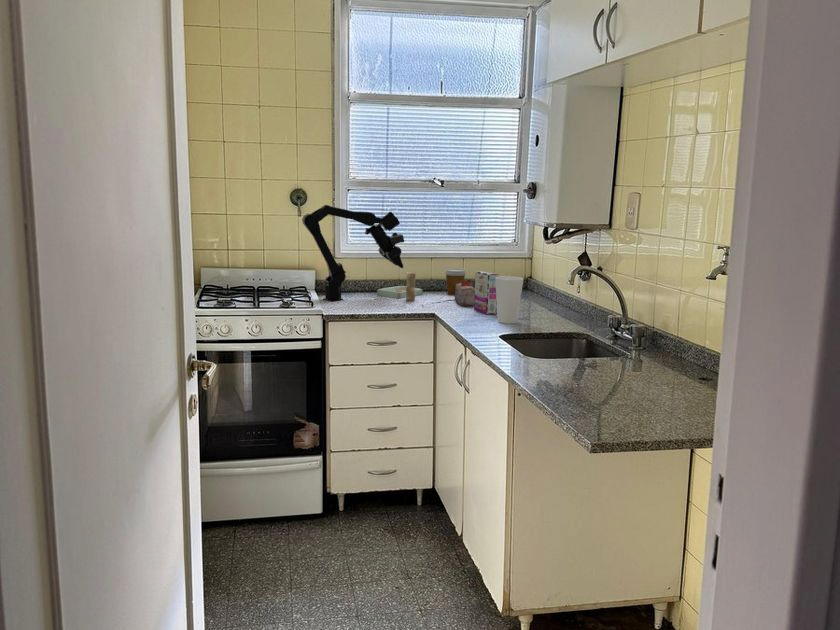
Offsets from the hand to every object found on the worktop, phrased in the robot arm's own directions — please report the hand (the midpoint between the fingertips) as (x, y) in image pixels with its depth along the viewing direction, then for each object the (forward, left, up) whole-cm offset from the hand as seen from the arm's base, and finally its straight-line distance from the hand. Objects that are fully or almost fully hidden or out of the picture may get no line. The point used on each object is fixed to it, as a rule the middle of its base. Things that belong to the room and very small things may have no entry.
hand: (399, 266), depth 338 cm
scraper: (-5, -10, -14) cm, 18 cm away
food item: (+10, -28, -15) cm, 34 cm away
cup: (-10, -63, -15) cm, 66 cm away
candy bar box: (+1, -45, -15) cm, 48 cm away
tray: (+3, +3, -14) cm, 15 cm away
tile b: (+8, +5, -13) cm, 17 cm away
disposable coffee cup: (+24, -12, -15) cm, 31 cm away
